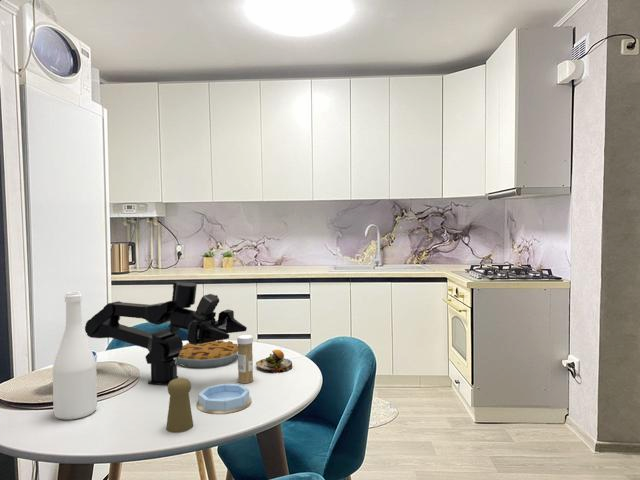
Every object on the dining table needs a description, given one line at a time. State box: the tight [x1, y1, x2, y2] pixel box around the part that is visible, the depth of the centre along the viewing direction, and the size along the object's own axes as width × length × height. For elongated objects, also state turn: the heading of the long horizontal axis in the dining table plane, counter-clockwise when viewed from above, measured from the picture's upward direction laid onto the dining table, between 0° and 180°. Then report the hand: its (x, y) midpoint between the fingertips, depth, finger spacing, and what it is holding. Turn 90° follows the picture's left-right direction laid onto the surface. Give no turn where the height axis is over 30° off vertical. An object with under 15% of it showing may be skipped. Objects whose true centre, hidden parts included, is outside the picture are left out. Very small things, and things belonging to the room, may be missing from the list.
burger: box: [255, 348, 293, 374], centre depth 151 cm, size 12×12×8 cm
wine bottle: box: [52, 291, 98, 421], centre depth 115 cm, size 10×10×30 cm
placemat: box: [196, 395, 252, 415], centre depth 122 cm, size 14×14×1 cm
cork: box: [165, 377, 194, 433], centre depth 107 cm, size 6×6×11 cm
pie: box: [176, 340, 238, 369], centre depth 160 cm, size 22×22×5 cm
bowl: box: [198, 383, 250, 411], centre depth 122 cm, size 12×12×2 cm
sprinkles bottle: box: [236, 334, 254, 384], centre depth 138 cm, size 5×5×14 cm
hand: (237, 332), depth 129 cm, fingers open, 9 cm apart
